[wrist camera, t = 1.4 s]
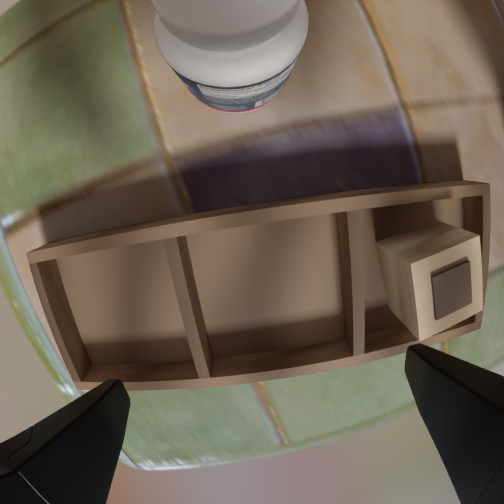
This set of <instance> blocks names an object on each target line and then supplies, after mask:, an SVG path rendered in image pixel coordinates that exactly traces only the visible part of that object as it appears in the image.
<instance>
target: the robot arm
mask: <svg viewBox="0 0 504 504" xmlns="http://www.w3.org/2000/svg"><path fill="white" fill-rule="evenodd" d="M405 374H406V377H407V379H408V382H409V385H410V388H411V390H412V393H413V396H414V399H415V402H416V405H417V407H418V410H419V412H420V414H421V417H422V419H423V421H424V423H425V424H426V427H427V429H428V431H429V433H430V435H431V437H432V439H433V441H434V443H435V446H436V448H437V450H438V452H439V454H440V456H441V459H442V461H443V463H444V465H445V468H446V470H447V472H448V474H449V476H450V479H451V481H452V484H453V486H454V488H455V491H456V493H457V496H458V498H459V500H460V503H461V504H504V377H503V376H502V375H499V374H497V373H494V372H491V371H489V370H486V369H484V368H481V367H479V366H476V365H474V364H471V363H469V362H466V361H464V360H461V359H459V358H456V357H454V356H451V355H449V354H446V353H444V352H441V351H439V350H436V349H434V348H431V347H429V346H426V345H424V344H421V343H417V344H413V345H409V346H408V348H407V352H406V360H405ZM129 409H130V398H129V395H128V393H127V391H126V389H125V386H124V384H123V382H122V381H121V380H120V379H108V380H106V381H105V382H103V383H101V384H100V385H98V386H97V387H95V388H93V389H92V390H90V391H89V392H87V393H85V394H84V395H82V396H81V397H79V398H77V399H76V400H74V401H72V402H71V403H69V404H68V405H66V406H64V407H63V408H61V409H59V410H58V411H56V412H55V413H53V414H51V415H50V416H48V417H46V418H45V419H43V420H41V421H40V422H38V423H36V424H35V425H34V426H31V427H30V428H28V429H26V430H24V431H23V432H21V433H19V434H17V435H16V436H14V437H12V438H10V439H8V440H6V441H4V442H2V443H0V504H106V502H107V498H108V494H109V491H110V487H111V483H112V479H113V476H114V472H115V469H116V465H117V462H118V458H119V455H120V452H121V448H122V445H123V441H124V436H125V430H126V425H127V419H128V414H129Z"/></svg>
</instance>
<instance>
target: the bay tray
mask: <svg viewBox="0 0 504 504" xmlns="http://www.w3.org/2000/svg"><path fill="white" fill-rule="evenodd" d="M435 220H438V221H441V222H444V223H447V224H450V225H453V226H455V227H458V228H461V229H464V230H467V231H469V232H472V233H475V234H478V235H480V246H481V260H482V283H483V309H484V302H485V294H486V286H487V276H488V264H489V249H490V184H489V183H482V182H475V181H467V180H458V181H445V182H433V183H421V184H410V185H400V186H390V187H380V188H371V189H362V190H353V191H345V192H336V193H328V194H320V195H313V196H305V197H298V198H290V199H283V200H276V201H269V202H262V203H256V204H249V205H243V206H236V207H230V208H224V209H218V210H212V211H206V212H200V213H194V214H188V215H183V216H177V217H171V218H166V219H160V220H155V221H150V222H145V223H139V224H134V225H129V226H124V227H119V228H114V229H109V230H104V231H100V232H95V233H90V234H85V235H81V236H76V237H72V238H67V239H63V240H58V241H54V242H50V243H47V244H45V245H43V246H41V247H39V248H36V249H34V250H32V251H30V252H28V253H26V254H27V258H28V262H29V265H30V269H31V272H32V276H33V279H34V283H35V286H36V289H37V292H38V295H39V298H40V301H41V304H42V307H43V310H44V313H45V315H46V318H47V321H48V323H49V326H50V329H51V331H52V334H53V336H54V339H55V341H56V344H57V346H58V348H59V351H60V353H61V355H62V358H63V360H64V362H65V365H66V367H67V369H68V371H69V373H70V375H71V377H72V379H73V382H74V384H75V386H76V388H77V389H82V390H92V389H93V388H95V387H97V386H98V385H100V384H101V383H103V382H105V381H106V380H108V379H120V380H121V381H122V382H123V384H124V386H125V389H126V390H166V389H186V388H201V387H213V386H224V385H234V384H243V383H252V382H260V381H267V380H274V379H281V378H288V377H294V376H300V375H306V374H312V373H317V372H323V371H328V370H333V369H338V368H343V367H347V366H352V365H357V364H361V363H365V362H370V361H374V360H378V359H382V358H386V357H390V356H394V355H398V354H401V353H405V352H407V348H408V346H409V345H413V344H417V343H421V344H424V345H426V346H429V345H433V344H436V343H439V342H442V341H445V340H448V339H451V338H454V337H457V336H460V335H463V334H466V333H469V332H472V331H475V330H477V329H480V327H481V322H482V315H483V310H482V311H480V312H478V313H476V314H474V315H472V316H471V317H469V318H467V319H465V320H463V321H461V322H459V323H457V324H455V325H453V326H451V327H449V328H447V329H445V330H443V331H441V332H439V333H437V334H435V335H433V336H431V337H428V338H426V339H424V340H422V341H420V342H419V341H418V339H417V338H416V337H415V336H414V335H413V334H412V333H411V332H410V331H409V329H408V328H407V327H406V326H405V325H404V324H403V323H402V322H401V321H400V320H399V318H398V317H397V316H396V315H395V314H394V313H393V312H392V311H391V310H390V309H389V308H388V303H387V297H386V291H385V285H384V280H383V275H382V269H381V264H380V259H379V255H378V250H377V245H376V242H377V241H380V240H382V239H385V238H388V237H391V236H394V235H396V234H399V233H402V232H405V231H408V230H410V229H413V228H416V227H419V226H421V225H424V224H427V223H429V222H432V221H435Z"/></svg>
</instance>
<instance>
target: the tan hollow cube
mask: <svg viewBox="0 0 504 504" xmlns="http://www.w3.org/2000/svg"><path fill="white" fill-rule="evenodd" d="M376 245H377V250H378V255H379V259H380V264H381V269H382V275H383V280H384V285H385V291H386V297H387V303H388V308H389V309H390V310H391V311H392V312H393V313H394V314H395V315H396V316H397V317H398V318H399V320H400V321H401V322H402V323H403V324H404V325H405V326H406V327H407V328H408V329H409V331H410V332H411V333H412V334H413V335H414V336H415V337H416V338H417V339H418V341H419V342H420V341H422V340H424V339H426V338H428V337H431V336H433V335H435V334H437V333H439V332H441V331H443V330H445V329H447V328H449V327H451V326H453V325H455V324H457V323H459V322H461V321H463V320H465V319H467V318H469V317H471V316H472V315H474V314H476V313H478V312H480V311H482V310H483V283H482V260H481V246H480V235H478V234H475V233H472V232H469V231H467V230H464V229H461V228H458V227H455V226H453V225H450V224H447V223H444V222H441V221H438V220H435V221H432V222H429V223H427V224H424V225H421V226H419V227H416V228H413V229H410V230H408V231H405V232H402V233H399V234H396V235H394V236H391V237H388V238H385V239H382V240H380V241H377V242H376Z"/></svg>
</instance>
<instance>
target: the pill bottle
mask: <svg viewBox="0 0 504 504" xmlns="http://www.w3.org/2000/svg"><path fill="white" fill-rule="evenodd" d="M151 1H152V4H153V6H154V8H155V10H156V11H155V16H154V35H155V40H156V43H157V46H158V48H159V51H160V52H161V54H162V56H163V57H164V59H165V60H166V62H167V63H168V64H169V66H170V67H171V68H172V69H173V70H174V72H175V73H176V74H177V75H178V77H179V78H180V79H181V80H182V82H183V83H184V84H185V85H186V86H187V88H188V89H189V90H190V92H191V93H192V94H193V95H194V96H195V97H196V98H197V99H198V100H199V101H200V102H201V103H203V104H204V105H206V106H208V107H209V108H212V109H214V110H217V111H221V112H225V113H246V112H250V111H254V110H257V109H259V108H261V107H263V106H265V105H267V104H268V103H270V102H271V101H272V100H274V99H275V98H276V97H277V96H278V95H279V93H280V92H281V91H282V89H283V88H284V86H285V84H286V82H287V80H288V78H289V76H290V74H291V71H292V69H293V67H294V65H295V63H296V61H297V59H298V57H299V54H300V52H301V51H302V48H303V46H304V43H305V40H306V37H307V33H308V26H309V17H308V11H307V7H306V4H305V1H304V0H151Z"/></svg>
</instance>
